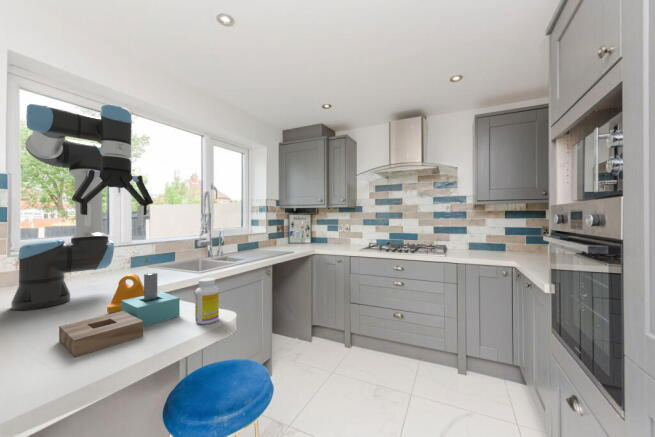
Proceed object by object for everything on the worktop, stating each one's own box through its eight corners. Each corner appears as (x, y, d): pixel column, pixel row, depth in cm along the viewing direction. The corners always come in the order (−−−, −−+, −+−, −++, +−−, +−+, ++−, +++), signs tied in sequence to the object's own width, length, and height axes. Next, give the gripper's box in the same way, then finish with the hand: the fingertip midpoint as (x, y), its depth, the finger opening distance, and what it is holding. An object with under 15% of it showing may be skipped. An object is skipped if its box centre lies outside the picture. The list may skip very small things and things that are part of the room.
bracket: (106, 315, 89) (106, 279, 89) (112, 309, 95) (112, 274, 95) (145, 310, 94) (145, 276, 94) (148, 304, 100) (148, 272, 100)
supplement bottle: (223, 318, 86) (223, 278, 86) (207, 326, 80) (207, 282, 80) (206, 315, 88) (206, 276, 88) (190, 323, 82) (190, 280, 82)
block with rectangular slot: (121, 319, 85) (121, 300, 85) (162, 309, 95) (162, 291, 95) (137, 328, 78) (136, 307, 78) (179, 316, 88) (179, 297, 88)
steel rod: (142, 318, 86) (142, 274, 86) (154, 315, 89) (154, 272, 89) (146, 320, 84) (146, 275, 84) (159, 317, 87) (159, 273, 87)
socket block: (59, 341, 70) (59, 326, 70) (123, 324, 82) (123, 310, 81) (74, 357, 62) (74, 339, 62) (143, 335, 73) (143, 321, 73)
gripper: (65, 147, 72) (65, 227, 72) (164, 163, 93) (164, 225, 93) (57, 150, 76) (57, 226, 76) (153, 164, 97) (153, 224, 97)
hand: (115, 225), depth 85 cm, fingers open, 13 cm apart
